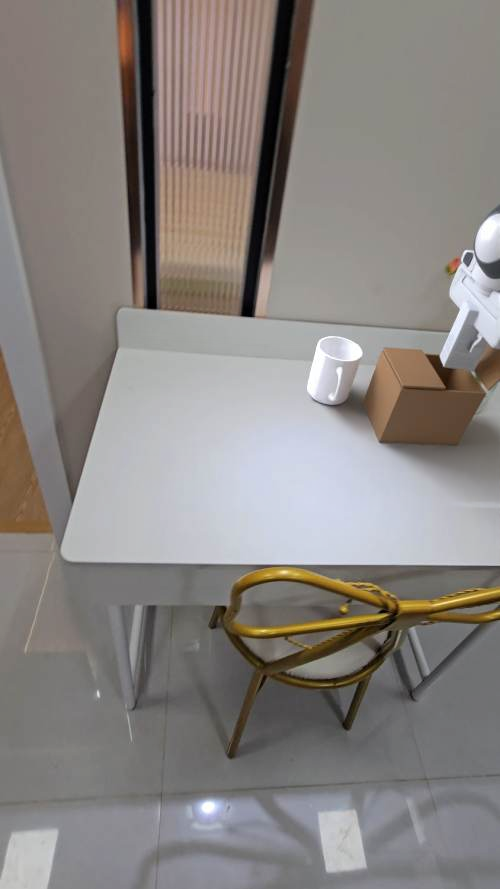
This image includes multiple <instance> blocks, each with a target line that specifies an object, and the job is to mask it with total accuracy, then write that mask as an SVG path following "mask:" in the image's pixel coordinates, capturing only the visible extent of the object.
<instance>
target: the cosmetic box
mask: <svg viewBox="0 0 500 889" xmlns="http://www.w3.org/2000/svg"><path fill="white" fill-rule="evenodd" d="M478 312H479V311H478V309H477V308H476V307H475V306H474V305H473V304H472V303H471V302H470V301H468V300H464V302H463V304H462V307H461V309H459V311H458V313H457V316H456V318H455V320H454V322H453V324H452V327H451V329H450V331H449V334H448V336H447V339H446V341H445V343H444V345H443V348H442V350H441V351H440V353H439V354H440V359H441V361H442V364H443V367H446V368H453V369H460V370H466V371H471V372H474V370H475V368H476V366H477V364H478V362H479V360H480V358H481V357H482V355H483V353H484V351H485V349H486V347H487V345H488V344H487V345H485V346H484V347H483V348H482V350H481V352H480V353H479V354H478V355H474V354H471V353H470V352H469V350H468V347H469V344H470V342H475V341H476V340H477V339H478V337H477V336H478V334H479V332H478V330H477V329H476V328H475V327H474V326H473V323H474V320H475V318H476V316H477V314H478Z"/></svg>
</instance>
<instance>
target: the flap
mask: <svg viewBox="0 0 500 889" xmlns="http://www.w3.org/2000/svg"><path fill="white" fill-rule="evenodd" d="M473 372H474V374H475V375H476V376H477V378H478V379H479V381H480V382H481V384H482V385H483V386H484V387H485V389H486V390H487V391H488V392H489V391H491V390H492V389H493V388H494V387H495V386H496V385H497V384H498V383H499V382H500V349H494V348H492V347H491V346H490V345H489V344H488V345H487V347H486V349H485V351H484V353H483V355H482V357H481V358H480V360H479V362H478V364H477V366H476V368H475V370H474V371H473Z"/></svg>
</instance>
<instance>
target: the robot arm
mask: <svg viewBox="0 0 500 889" xmlns="http://www.w3.org/2000/svg"><path fill="white" fill-rule="evenodd" d="M472 248H473V249H465V250H464V251H463V253H462V255H461V258H460V261H461V263H460V264H459V266H458V268H457V270H456V271H455V274H454V277H453V279H452V282H451V283H450V284H451V285H450V287H449V294H448V295H449V298H450V299H451V300H452V302H453V303H454V304H455V305H456V307H457V308H458V309H459V310H460V309H461V307H462V304H463V302H464V300H468V301H470V302H471V303H472V304H473V305H474V306H475V307H476V308H477V309H478V311H479V312H478V314H477V316H476V318H475V320H474V323H473V326H474V327H475V328H476V329H477V330H478V332H479V334H478V336H477V337H478V339H477V340H476V341H475V342H470V344H469V347H468V350H469V352H470V353H471V354H474V355H478V354H479V353H480V352H481V350H482V348H483V347H484V346H485V345H487V344H489V345H490V346H491V347H492V348H494V349H500V204H498V205H497V206H495V207H494V208H493V210H491V211H490V212H489V213H488V214H487V216H485V218H484V219H483V220H482V222H481V223H480V225H479V226H478V228H477V230H476V232H475V234H474V239H473V246H472Z"/></svg>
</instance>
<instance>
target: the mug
mask: <svg viewBox="0 0 500 889" xmlns="http://www.w3.org/2000/svg"><path fill="white" fill-rule="evenodd" d="M362 357H363V349H362V347H361V346H360V345H359V344H358V343H356V342H354V341H353V340H350V339H348V338H346V337H342V336H333V335H332V336H325V337H321V339H319V340H318V342H317V345H316V349H315V353H314V355H313V361H312V364H311V368H310V373H309V377H308V381H307V387H306V390H307V393H308V394H309V396H310V397H311V398H312V399H313V400H315V401H316V402H318V403H320V404H322V405H323V404H324V405H328V406H335V405H340V404H343V403H344V402H346V401H347V399H348V397H349V395H350V392H351V390H352V387H353V383H354V380H355V378H356V375H357V371H358V369H359V366H360V363H361V359H362Z"/></svg>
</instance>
